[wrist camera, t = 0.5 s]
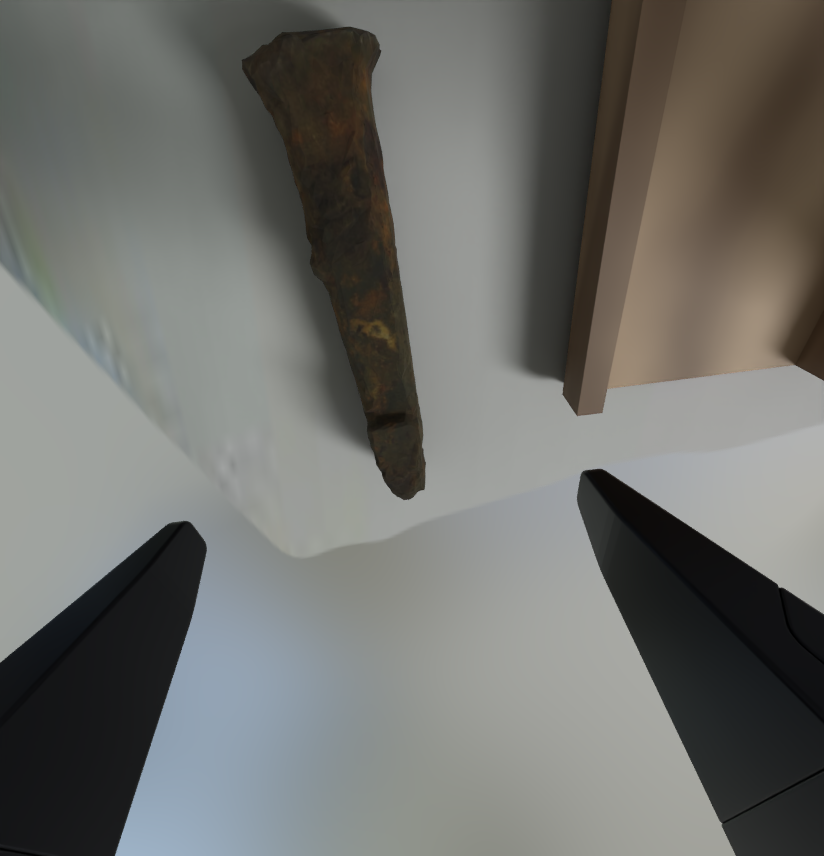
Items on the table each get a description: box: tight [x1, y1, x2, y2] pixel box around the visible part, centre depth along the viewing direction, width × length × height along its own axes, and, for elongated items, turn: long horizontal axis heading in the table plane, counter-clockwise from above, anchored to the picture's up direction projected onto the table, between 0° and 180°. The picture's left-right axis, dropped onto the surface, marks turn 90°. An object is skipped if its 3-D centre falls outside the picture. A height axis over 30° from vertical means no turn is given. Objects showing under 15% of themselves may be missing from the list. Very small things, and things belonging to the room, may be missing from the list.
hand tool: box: [242, 27, 426, 500], centre depth 17 cm, size 19×4×5 cm, turn 7°
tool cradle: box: [563, 0, 824, 416], centre depth 14 cm, size 13×17×3 cm
